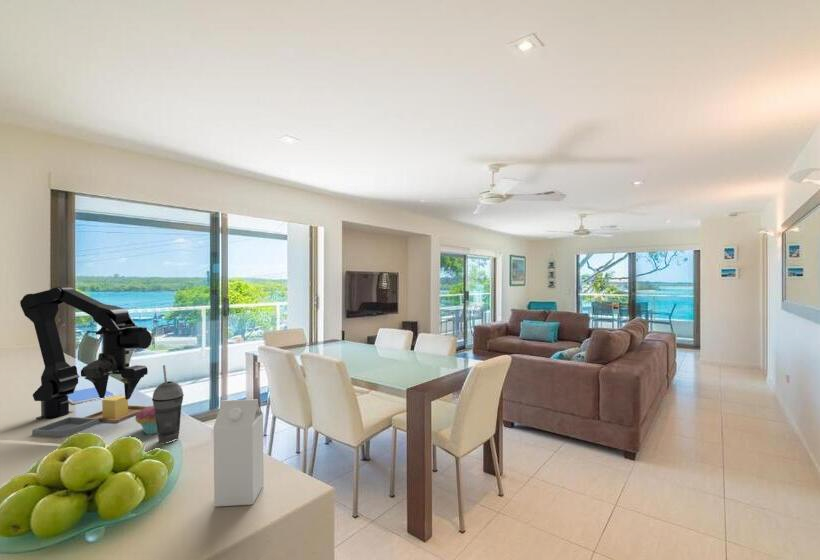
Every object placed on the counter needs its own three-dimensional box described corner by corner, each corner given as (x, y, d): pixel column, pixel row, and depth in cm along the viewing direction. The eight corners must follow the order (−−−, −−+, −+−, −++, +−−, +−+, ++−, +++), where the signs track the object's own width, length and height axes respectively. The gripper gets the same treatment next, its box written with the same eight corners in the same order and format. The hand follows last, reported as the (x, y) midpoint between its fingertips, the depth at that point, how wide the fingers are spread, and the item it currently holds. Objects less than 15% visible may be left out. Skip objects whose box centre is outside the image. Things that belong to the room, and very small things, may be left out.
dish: (32, 437, 108) (32, 429, 108) (70, 423, 118) (69, 416, 118) (63, 439, 106) (63, 431, 106) (99, 425, 116) (99, 418, 116)
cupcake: (178, 427, 114) (178, 386, 114) (150, 438, 106) (150, 394, 106) (156, 424, 117) (156, 383, 117) (128, 435, 109) (127, 391, 109)
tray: (82, 422, 119) (82, 417, 119) (118, 409, 131) (118, 404, 131) (117, 424, 117) (117, 420, 117) (151, 410, 129) (151, 406, 129)
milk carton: (228, 487, 81) (227, 395, 81) (263, 485, 82) (262, 394, 81) (214, 507, 74) (213, 406, 74) (253, 505, 74) (252, 405, 74)
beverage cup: (169, 447, 101) (168, 369, 101) (145, 444, 102) (144, 368, 102) (190, 435, 108) (189, 362, 108) (167, 433, 109) (167, 362, 109)
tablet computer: (58, 396, 148) (58, 393, 148) (100, 388, 158) (100, 385, 158) (72, 406, 136) (72, 402, 136) (116, 397, 146) (116, 393, 146)
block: (102, 417, 121) (102, 399, 121) (115, 412, 125) (115, 395, 125) (115, 418, 120) (114, 400, 120) (127, 413, 125) (127, 396, 125)
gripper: (62, 352, 116) (62, 405, 116) (117, 354, 113) (117, 408, 113) (98, 346, 127) (98, 394, 127) (148, 347, 124) (149, 397, 124)
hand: (114, 398), depth 123 cm, fingers open, 9 cm apart
